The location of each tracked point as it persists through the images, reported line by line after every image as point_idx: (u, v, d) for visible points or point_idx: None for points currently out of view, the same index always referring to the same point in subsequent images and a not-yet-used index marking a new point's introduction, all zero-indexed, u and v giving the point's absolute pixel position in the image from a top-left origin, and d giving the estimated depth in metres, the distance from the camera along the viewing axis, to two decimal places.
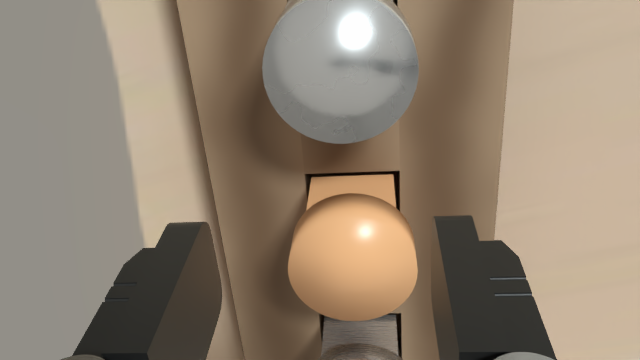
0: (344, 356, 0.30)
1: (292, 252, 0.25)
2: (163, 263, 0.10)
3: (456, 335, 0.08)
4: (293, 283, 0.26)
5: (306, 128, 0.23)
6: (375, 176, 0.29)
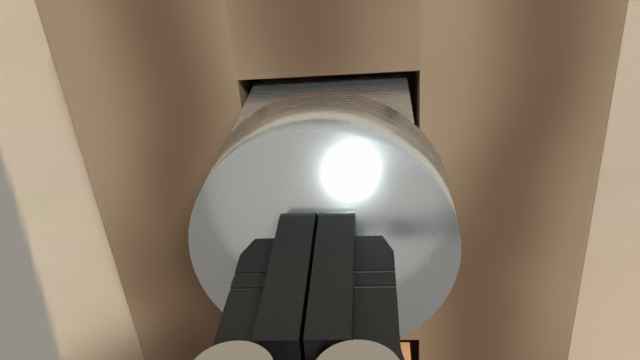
0: None
1: None
2: (287, 253, 0.10)
3: (306, 324, 0.09)
4: None
5: None
6: None
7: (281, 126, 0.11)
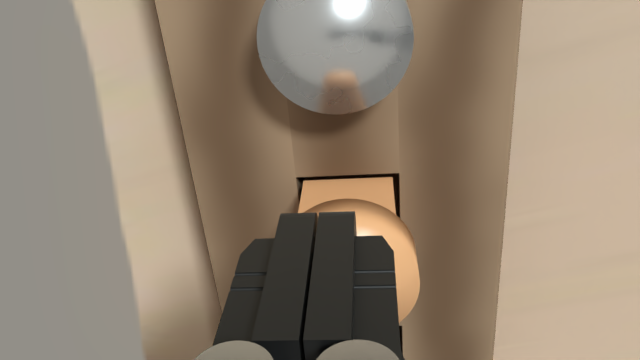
0: None
1: None
2: (287, 253, 0.10)
3: (305, 324, 0.09)
4: None
5: (301, 98, 0.22)
6: (372, 178, 0.27)
7: None
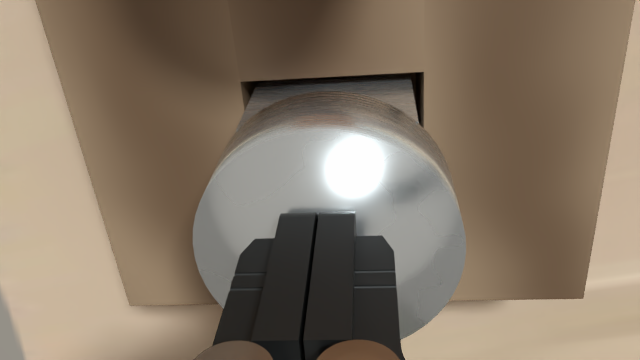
0: (285, 111, 0.12)
1: None
2: (287, 253, 0.10)
3: (306, 324, 0.09)
4: None
5: None
6: None
7: None
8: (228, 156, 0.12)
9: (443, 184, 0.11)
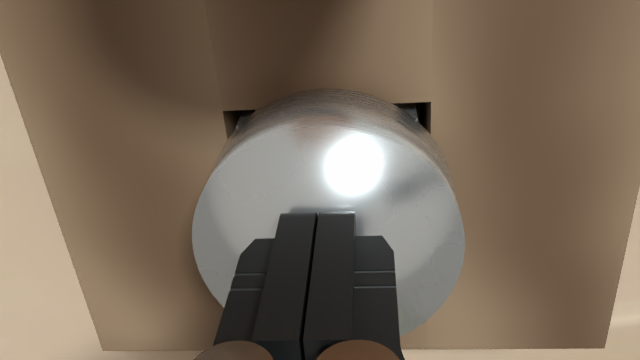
0: (285, 108, 0.12)
1: None
2: (287, 253, 0.10)
3: (305, 324, 0.09)
4: None
5: None
6: None
7: None
8: (228, 153, 0.12)
9: (442, 181, 0.11)
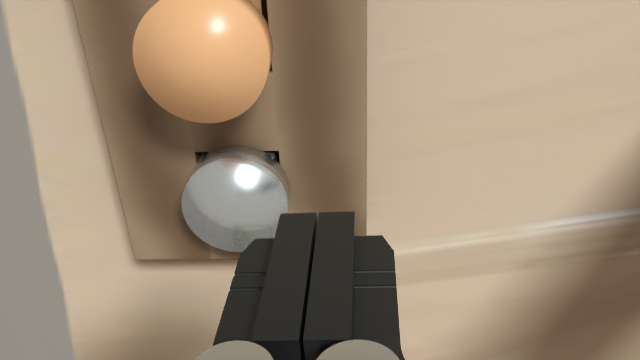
0: (218, 153, 0.31)
1: (135, 36, 0.24)
2: (287, 252, 0.10)
3: (305, 324, 0.09)
4: (140, 75, 0.25)
5: None
6: None
7: None
8: (196, 170, 0.31)
9: (276, 183, 0.31)
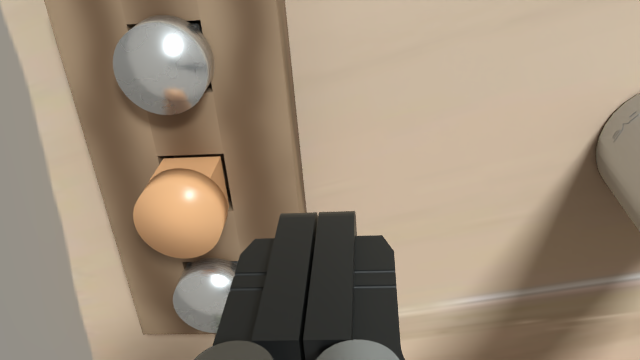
0: (198, 265, 0.44)
1: (134, 208, 0.37)
2: (287, 253, 0.10)
3: (305, 324, 0.09)
4: (138, 230, 0.38)
5: (144, 105, 0.36)
6: (208, 157, 0.41)
7: (142, 23, 0.34)
8: (182, 278, 0.44)
9: None
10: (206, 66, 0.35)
